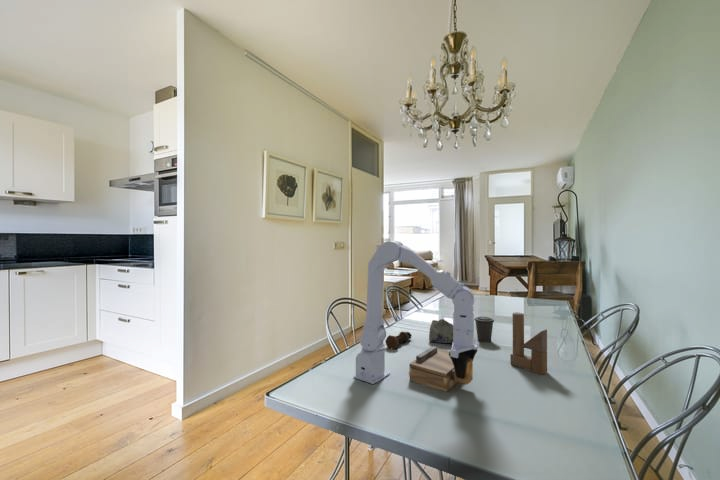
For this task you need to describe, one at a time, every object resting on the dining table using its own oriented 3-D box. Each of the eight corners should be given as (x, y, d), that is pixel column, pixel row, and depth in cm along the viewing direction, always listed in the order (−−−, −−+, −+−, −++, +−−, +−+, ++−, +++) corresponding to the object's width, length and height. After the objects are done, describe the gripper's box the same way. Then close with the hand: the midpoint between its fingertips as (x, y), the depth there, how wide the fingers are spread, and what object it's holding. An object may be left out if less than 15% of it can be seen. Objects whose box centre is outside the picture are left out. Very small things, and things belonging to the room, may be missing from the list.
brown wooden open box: (446, 391, 90) (446, 378, 90) (409, 380, 97) (409, 367, 97) (468, 371, 104) (468, 359, 104) (434, 362, 111) (434, 351, 111)
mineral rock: (466, 345, 130) (465, 320, 130) (448, 349, 124) (448, 324, 124) (442, 337, 141) (442, 314, 141) (425, 341, 135) (425, 317, 135)
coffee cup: (470, 339, 137) (470, 316, 137) (483, 336, 141) (483, 314, 141) (484, 344, 130) (484, 320, 130) (498, 341, 133) (498, 318, 133)
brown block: (467, 384, 89) (467, 363, 89) (454, 380, 91) (454, 359, 91) (472, 379, 92) (472, 359, 92) (459, 375, 94) (459, 355, 94)
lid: (448, 385, 89) (448, 368, 89) (409, 373, 97) (409, 358, 97) (470, 365, 103) (470, 351, 103) (434, 356, 111) (434, 343, 111)
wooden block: (542, 375, 100) (541, 319, 100) (510, 364, 109) (509, 313, 109) (547, 372, 102) (547, 317, 102) (515, 362, 111) (515, 311, 111)
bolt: (410, 344, 137) (392, 352, 125) (401, 336, 140) (383, 344, 128) (416, 333, 135) (398, 341, 123) (407, 326, 138) (389, 333, 126)
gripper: (468, 337, 83) (468, 388, 83) (485, 325, 95) (485, 370, 95) (443, 332, 88) (443, 380, 88) (462, 321, 99) (462, 364, 99)
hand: (463, 375), depth 91 cm, fingers closed on brown block, 4 cm apart
